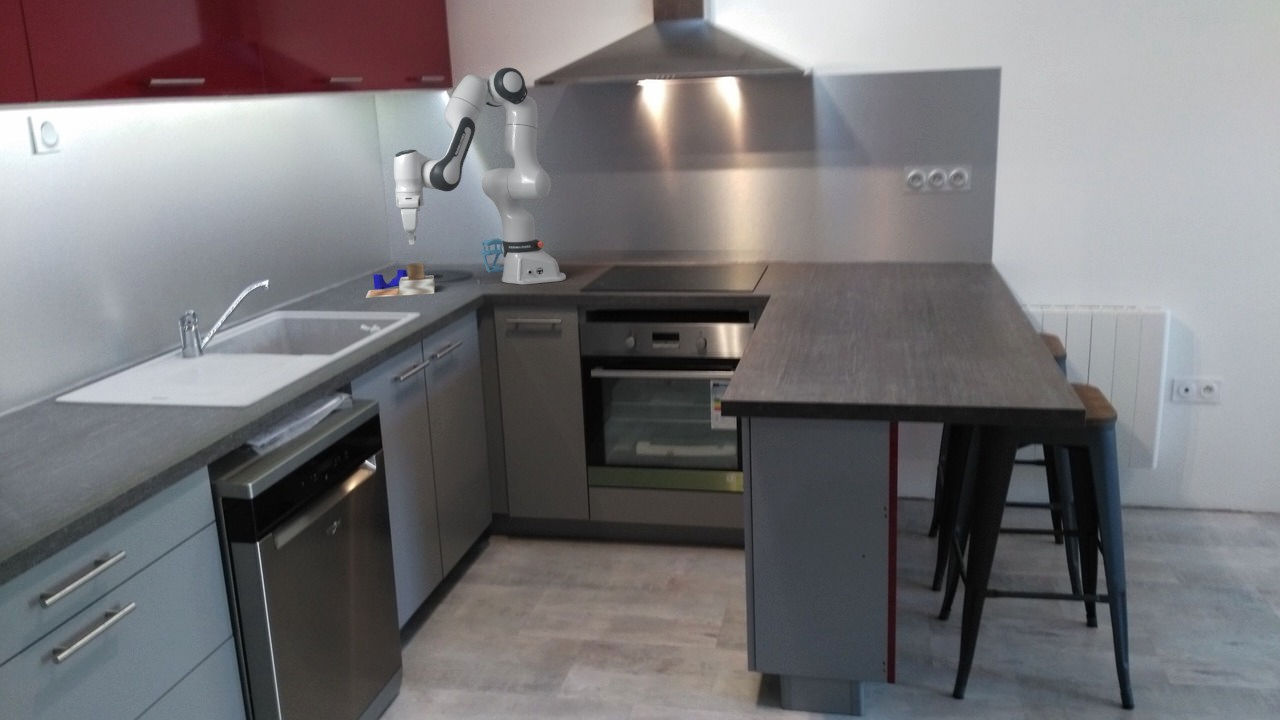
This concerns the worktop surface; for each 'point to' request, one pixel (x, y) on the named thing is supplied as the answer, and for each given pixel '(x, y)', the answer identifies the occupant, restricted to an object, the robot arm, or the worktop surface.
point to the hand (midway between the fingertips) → (412, 242)
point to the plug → (416, 271)
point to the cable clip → (380, 282)
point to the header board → (407, 288)
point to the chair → (491, 252)
